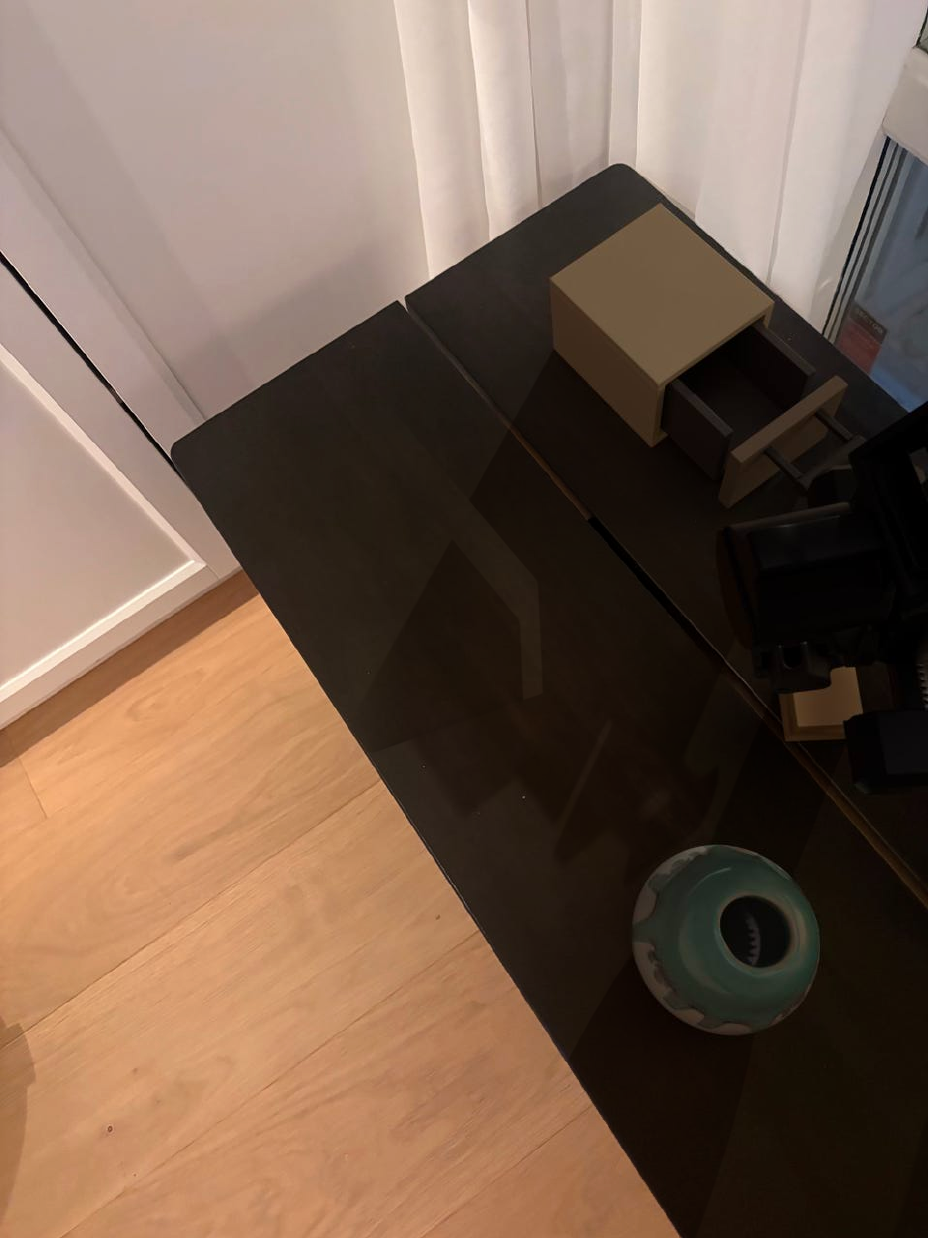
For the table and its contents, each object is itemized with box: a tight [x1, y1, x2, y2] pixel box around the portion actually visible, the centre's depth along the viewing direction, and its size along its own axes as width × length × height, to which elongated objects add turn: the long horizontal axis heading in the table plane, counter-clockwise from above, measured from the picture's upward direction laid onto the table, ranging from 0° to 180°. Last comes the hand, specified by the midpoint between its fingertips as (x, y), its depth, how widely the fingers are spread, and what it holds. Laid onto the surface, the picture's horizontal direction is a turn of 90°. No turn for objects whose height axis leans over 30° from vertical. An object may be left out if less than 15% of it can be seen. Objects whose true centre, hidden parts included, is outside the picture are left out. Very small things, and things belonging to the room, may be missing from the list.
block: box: [778, 666, 864, 742], centre depth 66 cm, size 4×4×4 cm
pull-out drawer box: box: [660, 320, 867, 509], centre depth 72 cm, size 17×10×7 cm, turn 36°
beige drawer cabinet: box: [548, 202, 775, 448], centre depth 77 cm, size 14×12×9 cm
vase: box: [630, 844, 821, 1036], centre depth 55 cm, size 12×12×18 cm
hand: (851, 666), depth 58 cm, fingers open, 9 cm apart
